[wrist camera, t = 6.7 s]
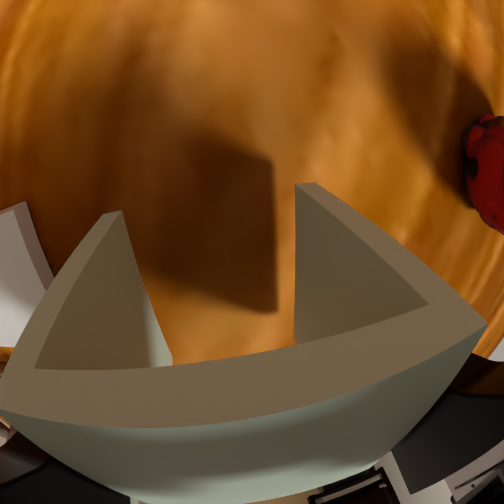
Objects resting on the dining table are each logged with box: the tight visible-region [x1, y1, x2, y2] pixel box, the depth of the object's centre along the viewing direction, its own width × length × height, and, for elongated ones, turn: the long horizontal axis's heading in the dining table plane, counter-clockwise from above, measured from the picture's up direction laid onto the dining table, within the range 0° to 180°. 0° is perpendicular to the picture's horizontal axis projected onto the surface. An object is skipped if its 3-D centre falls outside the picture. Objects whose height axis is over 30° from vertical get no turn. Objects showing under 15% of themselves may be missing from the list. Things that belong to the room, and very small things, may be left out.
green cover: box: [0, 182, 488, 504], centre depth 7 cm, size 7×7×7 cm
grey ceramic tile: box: [0, 201, 54, 347], centre depth 9 cm, size 7×7×1 cm
